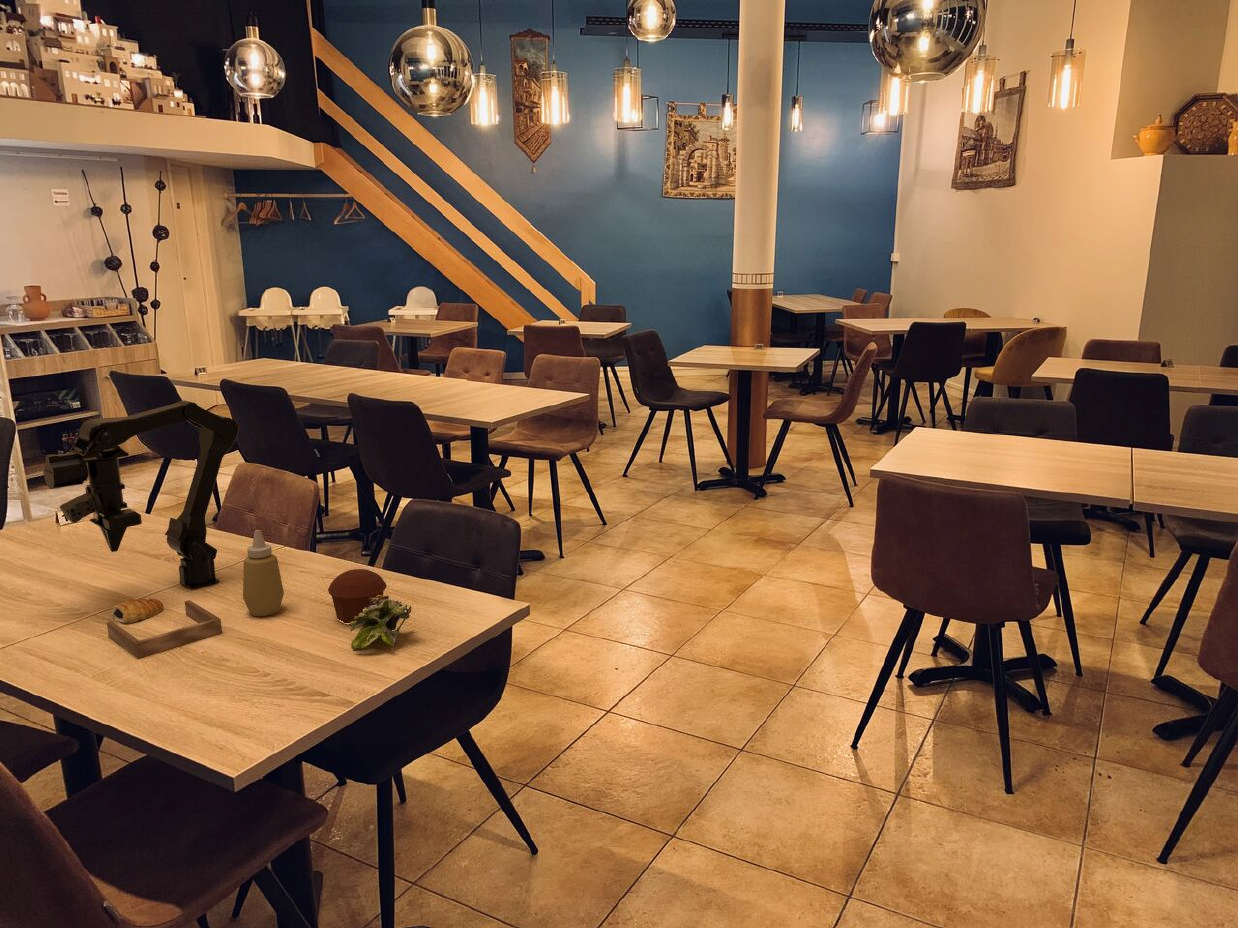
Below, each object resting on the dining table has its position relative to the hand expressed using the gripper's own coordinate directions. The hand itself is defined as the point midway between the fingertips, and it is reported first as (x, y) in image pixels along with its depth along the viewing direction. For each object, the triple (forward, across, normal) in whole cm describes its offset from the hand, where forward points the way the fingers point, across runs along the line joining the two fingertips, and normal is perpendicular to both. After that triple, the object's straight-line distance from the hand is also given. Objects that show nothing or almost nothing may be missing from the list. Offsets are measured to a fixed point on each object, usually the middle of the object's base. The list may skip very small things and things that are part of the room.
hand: (114, 551), depth 191 cm
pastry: (+12, +9, 0) cm, 15 cm away
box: (+12, +22, 0) cm, 26 cm away
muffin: (+12, +44, +31) cm, 55 cm away
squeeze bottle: (+12, +26, +19) cm, 35 cm away
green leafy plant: (+12, +58, +27) cm, 66 cm away
